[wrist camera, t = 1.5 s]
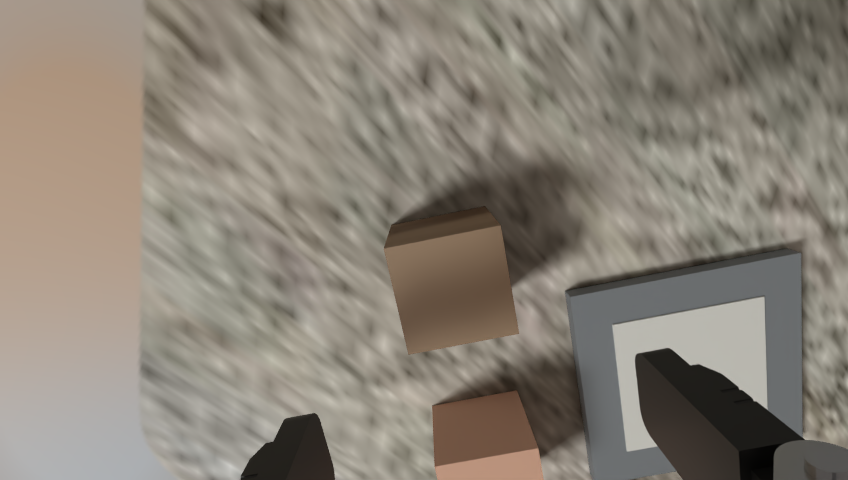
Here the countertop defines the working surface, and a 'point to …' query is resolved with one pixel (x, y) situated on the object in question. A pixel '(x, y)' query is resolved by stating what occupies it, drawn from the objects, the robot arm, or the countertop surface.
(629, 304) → the plate
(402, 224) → the walnut block
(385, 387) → the countertop surface
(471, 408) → the terracotta block
